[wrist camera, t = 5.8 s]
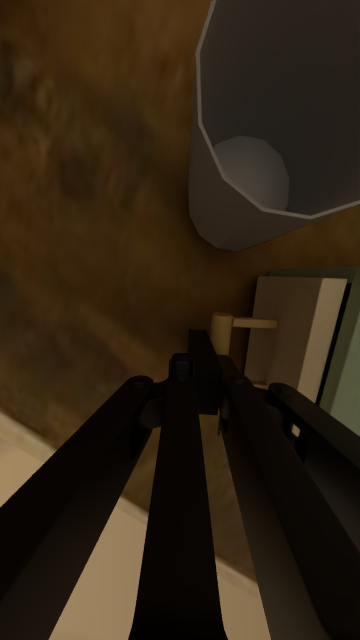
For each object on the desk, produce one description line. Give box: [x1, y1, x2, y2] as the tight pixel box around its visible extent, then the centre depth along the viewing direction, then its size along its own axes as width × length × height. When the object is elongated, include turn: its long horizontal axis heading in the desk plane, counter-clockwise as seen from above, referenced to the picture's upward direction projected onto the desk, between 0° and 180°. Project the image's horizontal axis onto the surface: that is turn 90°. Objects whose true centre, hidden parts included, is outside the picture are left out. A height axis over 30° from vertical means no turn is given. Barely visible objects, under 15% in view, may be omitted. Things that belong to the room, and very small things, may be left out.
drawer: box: [210, 276, 351, 437], centre depth 14 cm, size 18×11×8 cm, turn 87°
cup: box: [188, 0, 360, 251], centre depth 11 cm, size 8×8×10 cm
